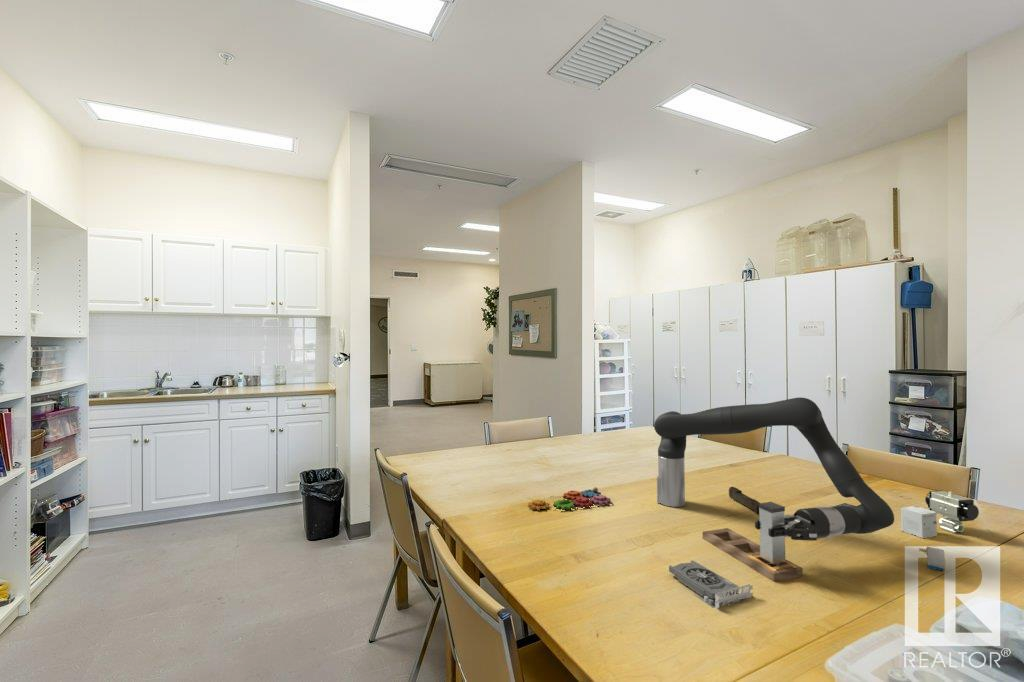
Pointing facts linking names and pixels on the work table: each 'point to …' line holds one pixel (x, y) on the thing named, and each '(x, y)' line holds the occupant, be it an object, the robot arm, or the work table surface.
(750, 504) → the hand tool
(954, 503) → the pneumatic valve
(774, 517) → the peg
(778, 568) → the rail
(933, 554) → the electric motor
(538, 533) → the work table surface
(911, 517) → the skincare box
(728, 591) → the graphics card
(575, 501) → the gear puzzle
